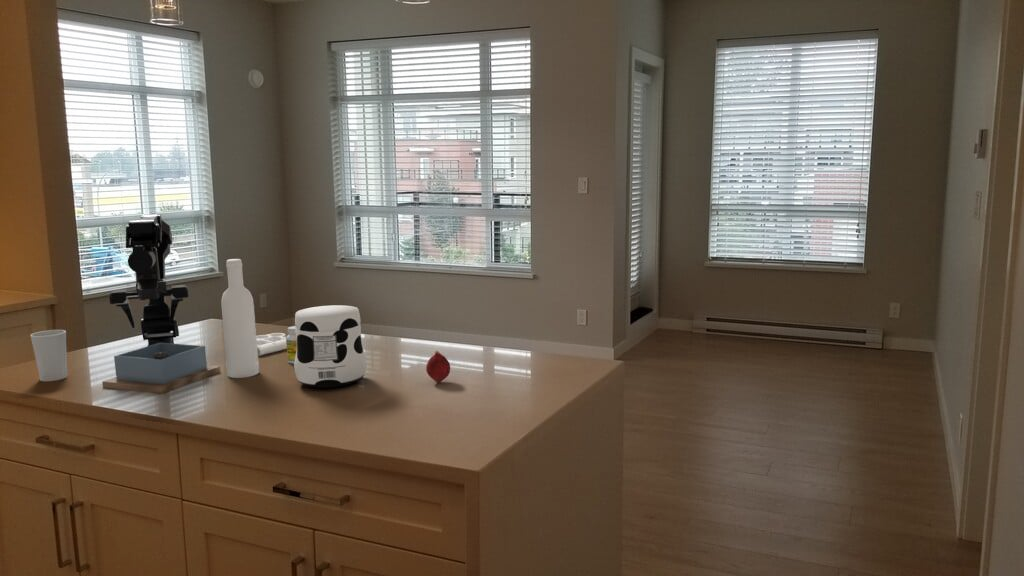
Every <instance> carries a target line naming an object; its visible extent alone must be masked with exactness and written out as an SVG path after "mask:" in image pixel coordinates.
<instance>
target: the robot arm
mask: <svg viewBox="0 0 1024 576" xmlns="http://www.w3.org/2000/svg"><path fill="white" fill-rule="evenodd" d="M127 223H128V224H126V225H125V248H126V249H132V252H131V253H130V254H129V256H128V258H127V264H128V267H129V268H130V269H131V270H132V271H133V272H135V273H134V274H135V282H136V283H135V289H136V291H130V292H128V290H127V289H116V290H111V291H110V293H109V296H108V297H109V305H114V304H115V307H118V308H119V307H120V309H122V310H123V312H124V313H125V316H126V317H127V320H128V322H129V324H130V325H131V327H132V329H135V321H134V320H135V319H134V317H133V312H132V308H131V303H130V300H137V299H138V300H139V301H146V300H148V301H149V302H148V304H146V305H144V307H143V313H142V314H143V315H142V316H143V317H142V318H141V319H140V329H141V332H142V333H141V334H142V339H143V341H146V340H147V346H150V345H154V344H157V343H173V344H175V342H174V341H175V340H174V339H175V338H177V337H179V336H180V331H179V330H180V329H179V325H178V321H177V320H176V318H175V315H176V310H177V307H178V305H179V303H180V302H183V301H184V299H185V298H189V290H188V286H187V285H186V284H179V285H178V284H175V285H171V288H167V281H166V262H165V261H166V259H167V257H168V256H169V254H170V253H171V246H172V245H173V234H172V230H171V226H170V224H168V223H167V222H165V221H164V220H163V219H162V216H161V215H160V214H157V213H155V214H143V215H141V217H140V219H139V220H138V219H137V220H129V221H128V222H127ZM166 297H170V307H169V306H168V304H167V298H166Z"/></svg>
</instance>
